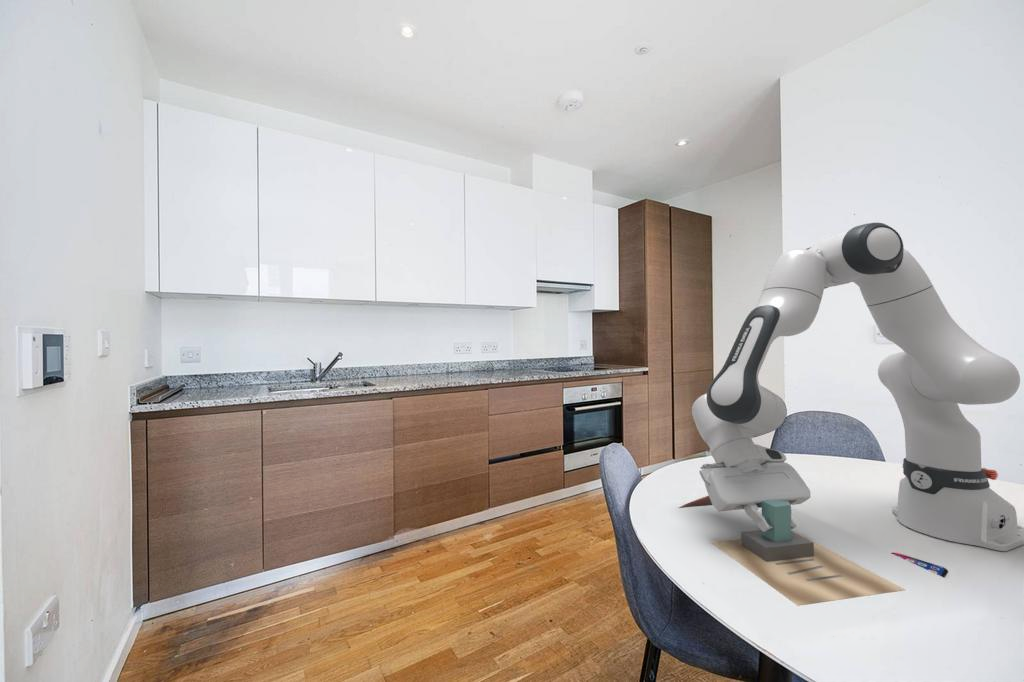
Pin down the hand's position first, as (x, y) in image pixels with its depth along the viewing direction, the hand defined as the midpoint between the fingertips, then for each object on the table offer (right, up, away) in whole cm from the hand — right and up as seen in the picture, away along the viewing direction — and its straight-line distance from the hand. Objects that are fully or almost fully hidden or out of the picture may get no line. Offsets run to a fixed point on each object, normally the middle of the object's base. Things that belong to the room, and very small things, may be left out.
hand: (780, 529), depth 72 cm
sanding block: (0, -4, +1) cm, 4 cm away
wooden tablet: (+3, -7, +25) cm, 26 cm away
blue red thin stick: (+20, -6, -4) cm, 21 cm away
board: (+1, -6, -4) cm, 7 cm away
